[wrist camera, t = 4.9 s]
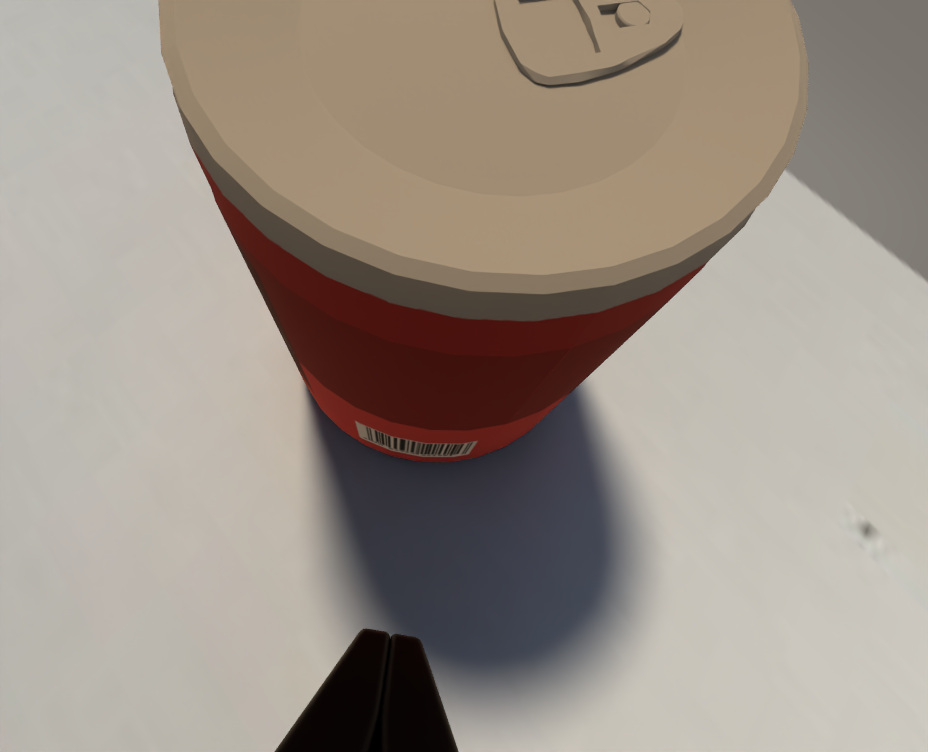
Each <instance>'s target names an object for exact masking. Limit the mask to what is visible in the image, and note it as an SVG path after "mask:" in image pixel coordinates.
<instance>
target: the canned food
mask: <svg viewBox="0 0 928 752" xmlns="http://www.w3.org/2000/svg"><path fill="white" fill-rule="evenodd" d="M159 17H160V36H161V53H162V56H163V59H164V62H165V65H166V68H167V71H168V74H169V77H170V80H171V83H172V86H173V94H174V97H175V100H176V103H177V106H178V109H179V112H180V115H181V118H182V121H183V124H184V127H185V130H186V133H187V136H188V139H189V142H190V144H191V147H192V149H193V151H194V153H195V155H196V157H197V159H198V161H199V163H200V165H201V168H202V170H203V172H204V174H205V176H206V178H207V180H208V182H209V184H210V186H211V189H212V192H213V195H214V198H215V201H216V203H217V205H218V207H219V209H220V211H221V213H222V215H223V217H224V219H225V221H226V223H227V225H228V227H229V229H230V232H231V234H232V236H233V238H234V240H235V242H236V244H237V246H238V248H239V250H240V252H241V254H242V256H243V258H244V260H245V262H246V264H247V266H248V268H249V270H250V272H251V274H252V276H253V278H254V280H255V282H256V284H257V286H258V288H259V290H260V292H261V294H262V296H263V298H264V301H265V303H266V305H267V307H268V309H269V311H270V313H271V315H272V317H273V319H274V321H275V323H276V325H277V327H278V329H279V331H280V333H281V335H282V337H283V339H284V341H285V343H286V345H287V347H288V349H289V351H290V353H291V355H292V357H293V359H294V361H295V363H296V365H297V367H298V370H299V372H300V374H301V376H302V378H303V380H304V382H305V384H306V386H307V387H308V389H309V391H310V392H311V394H312V395H313V397H314V399H315V400H316V402H317V403H318V405H319V406H320V408H321V409H322V410H323V411H324V412H325V414H326V415H327V416H328V417H329V418H330V419H331V420H332V421H333V422H334V423H335V424H336V425H337V426H338V427H339V428H340V429H341V430H343V431H344V432H346V433H347V434H349V435H350V436H352V437H353V438H355V439H356V440H358V441H359V442H361V443H362V444H364V445H366V446H368V447H371V448H373V449H376V450H378V451H381V452H383V453H385V454H388V455H390V456H394V457H399V458H404V459H409V460H414V461H419V462H454V461H459V460H465V459H470V458H476V457H480V456H482V455H485V454H488V453H490V452H493V451H495V450H498V449H500V448H503V447H505V446H507V445H509V444H510V443H512V442H513V441H515V440H516V439H518V438H520V437H521V436H523V435H524V434H526V433H527V432H529V431H530V430H531V429H532V428H533V427H534V426H535V425H536V424H537V423H538V422H540V421H541V420H542V419H543V418H544V417H545V416H546V415H547V414H548V413H549V412H550V411H551V410H552V409H554V408H555V407H556V406H557V405H558V404H559V403H560V402H561V401H562V400H563V399H564V398H565V397H566V396H567V395H569V394H570V393H571V392H572V391H573V390H574V389H575V388H576V387H577V386H578V385H579V384H580V383H581V382H582V381H584V380H585V379H586V378H587V377H588V376H589V375H590V374H591V373H592V372H593V371H594V370H595V369H596V368H598V367H599V366H600V365H601V364H602V363H603V362H604V361H605V360H606V359H607V358H608V357H609V356H610V355H611V354H613V353H614V352H615V351H616V350H617V349H618V348H619V347H620V346H621V345H622V344H623V343H624V342H625V341H626V340H628V339H629V338H630V337H631V336H632V335H633V334H634V333H635V332H636V331H637V330H638V329H639V328H640V327H642V326H643V325H644V324H645V323H646V322H647V321H648V320H649V319H650V318H651V317H652V316H653V315H654V314H655V313H657V312H658V311H659V310H660V309H661V308H662V307H663V306H664V305H665V304H666V303H667V302H668V301H669V300H670V299H671V298H672V297H673V296H675V295H676V294H677V293H678V292H679V291H680V290H681V289H682V288H683V287H684V286H685V285H686V284H687V283H688V282H689V281H690V280H691V279H692V278H693V277H694V276H695V275H696V274H697V273H698V272H699V271H700V270H701V269H702V268H703V267H704V266H705V265H706V263H707V262H708V261H709V260H710V259H711V258H712V257H713V256H714V255H715V254H716V253H717V252H718V251H719V250H720V249H721V248H722V247H723V246H724V245H725V244H727V243H728V242H729V241H730V240H731V239H732V238H733V237H734V236H735V235H736V234H737V233H738V232H739V231H740V230H741V229H742V228H743V227H744V226H745V225H746V223H747V221H748V220H749V218H750V216H751V215H752V213H753V212H754V210H755V208H756V207H757V206H758V205H759V204H760V203H761V202H762V201H763V200H764V199H765V198H767V197H768V195H769V194H770V192H771V190H772V189H773V187H774V185H775V184H776V182H777V181H778V179H779V177H780V176H781V174H782V173H783V171H784V169H785V168H786V166H787V164H788V163H789V161H790V160H791V158H792V156H793V155H794V152H795V149H796V145H797V142H798V139H799V136H800V132H801V129H802V125H803V122H804V119H805V115H806V112H807V103H808V70H809V63H808V58H807V54H806V49H805V44H804V39H803V35H802V30H801V26H800V21H799V18H798V16H797V13H796V11H795V9H794V7H793V4H792V2H791V1H790V0H159Z"/></svg>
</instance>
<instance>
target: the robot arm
mask: <svg viewBox="0 0 928 752" xmlns="http://www.w3.org/2000/svg"><path fill="white" fill-rule="evenodd" d="M275 752H458V749H457V746H456V743H455V740H454V737H453V734H452V731H451V728H450V725H449V722H448V719H447V716H446V713H445V710H444V707H443V704H442V701H441V698H440V695H439V692H438V689H437V686H436V683H435V680H434V677H433V674H432V671H431V668H430V665H429V662H428V659H427V656H426V653H425V650H424V647H423V644H422V642H421V640H420V639H419V638H417V637H413V636H407V635H401V634H394V635H392V636H391V638H390V635H389V633H387V632H384V631H379V630H373V629H367V628H365V629H362V630H361V631H360V632H359V633H358V635H357V636H356V637H355V639H354V640H353V642H352V643H351V645H350V646H349V647H348V649H347V650H346V652H345V653H344V654H343V656H342V657H341V659H340V660H339V661H338V663H337V664H336V666H335V667H334V669H333V670H332V671H331V673H330V674H329V676H328V677H327V678H326V680H325V681H324V683H323V684H322V686H321V687H320V688H319V690H318V691H317V693H316V694H315V695H314V697H313V698H312V700H311V701H310V702H309V704H308V705H307V707H306V708H305V710H304V711H303V712H302V714H301V715H300V717H299V718H298V719H297V721H296V722H295V724H294V725H293V727H292V728H291V729H290V731H289V732H288V734H287V735H286V736H285V738H284V739H283V741H282V742H281V744H280V745H279V746H278V748H277V749H276V751H275Z"/></svg>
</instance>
